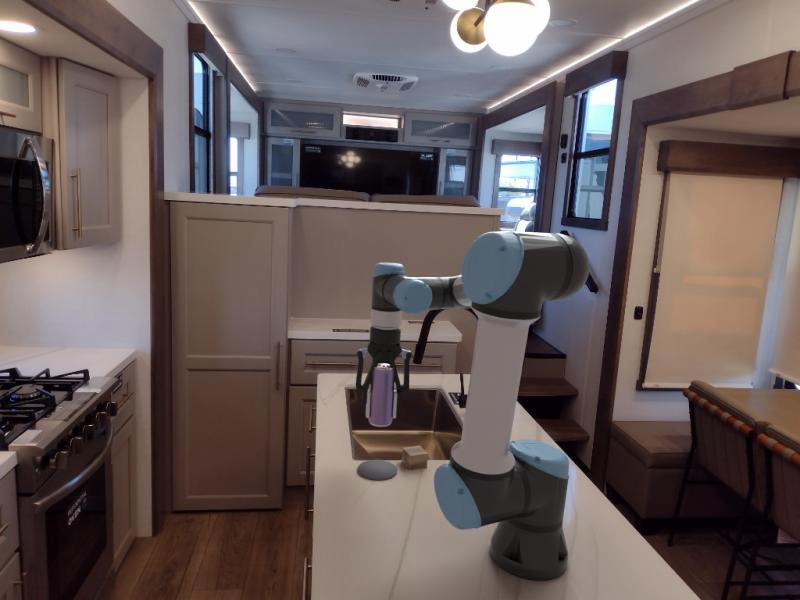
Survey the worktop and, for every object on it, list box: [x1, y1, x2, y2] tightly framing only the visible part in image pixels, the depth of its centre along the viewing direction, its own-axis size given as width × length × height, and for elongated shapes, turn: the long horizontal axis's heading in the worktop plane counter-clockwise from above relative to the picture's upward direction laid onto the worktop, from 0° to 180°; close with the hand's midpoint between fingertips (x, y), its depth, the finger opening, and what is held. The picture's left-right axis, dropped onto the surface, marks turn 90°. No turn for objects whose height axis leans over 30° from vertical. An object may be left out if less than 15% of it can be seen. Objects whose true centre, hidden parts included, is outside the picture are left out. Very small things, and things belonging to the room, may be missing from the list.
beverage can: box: [368, 363, 395, 428], centre depth 144 cm, size 6×6×15 cm
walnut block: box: [401, 445, 429, 471], centre depth 153 cm, size 5×5×4 cm
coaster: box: [357, 459, 398, 481], centre depth 148 cm, size 10×10×1 cm
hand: (380, 415), depth 145 cm, fingers closed on beverage can, 6 cm apart
